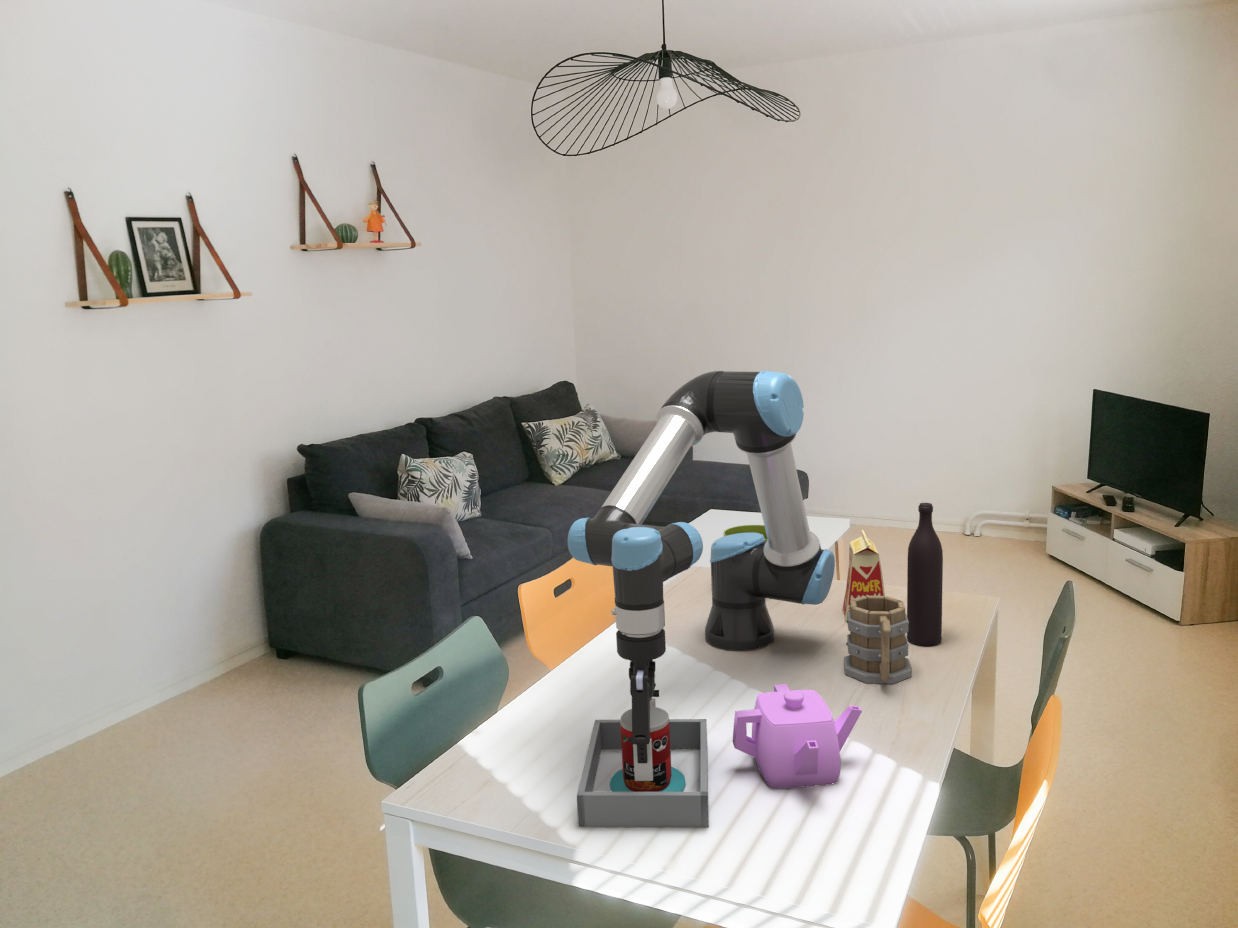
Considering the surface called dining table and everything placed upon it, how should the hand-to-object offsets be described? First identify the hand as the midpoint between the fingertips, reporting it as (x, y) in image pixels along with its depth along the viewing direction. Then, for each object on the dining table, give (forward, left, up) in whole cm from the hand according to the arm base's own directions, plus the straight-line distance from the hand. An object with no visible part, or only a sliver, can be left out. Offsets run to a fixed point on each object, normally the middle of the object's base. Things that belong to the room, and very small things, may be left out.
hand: (646, 757), depth 147 cm
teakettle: (-5, +24, -5) cm, 25 cm away
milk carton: (-73, +46, -5) cm, 86 cm away
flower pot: (-91, +22, -5) cm, 94 cm away
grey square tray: (0, 0, -4) cm, 4 cm away
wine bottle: (-58, +56, -5) cm, 81 cm away
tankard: (-39, +43, -5) cm, 58 cm away
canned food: (0, 0, -4) cm, 4 cm away
